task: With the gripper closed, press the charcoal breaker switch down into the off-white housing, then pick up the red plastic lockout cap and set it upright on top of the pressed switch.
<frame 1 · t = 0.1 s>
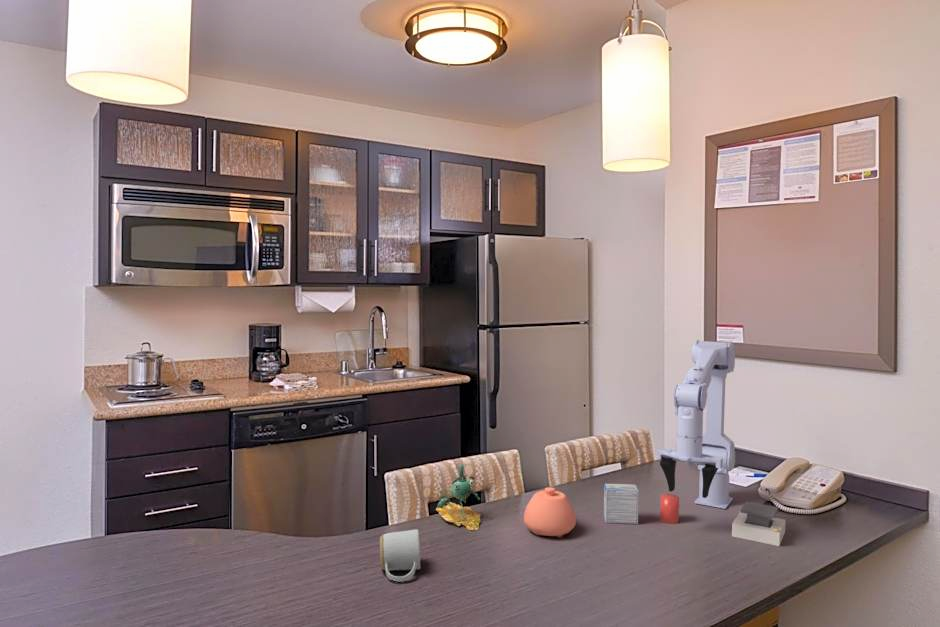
hand: (688, 493, 147), 10 cm above the counter, fingers open, 7 cm apart
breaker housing: (758, 534, 149), on the counter
lockout cap: (669, 520, 158), on the counter
sugar bowl: (549, 530, 151), on the counter
breaker switch: (759, 516, 149), point 4 cm above the counter, slide at 0.0 cm
ceramic mug: (401, 572, 129), on the counter
frog figurine: (459, 519, 159), on the counter
medicine box: (620, 521, 157), on the counter
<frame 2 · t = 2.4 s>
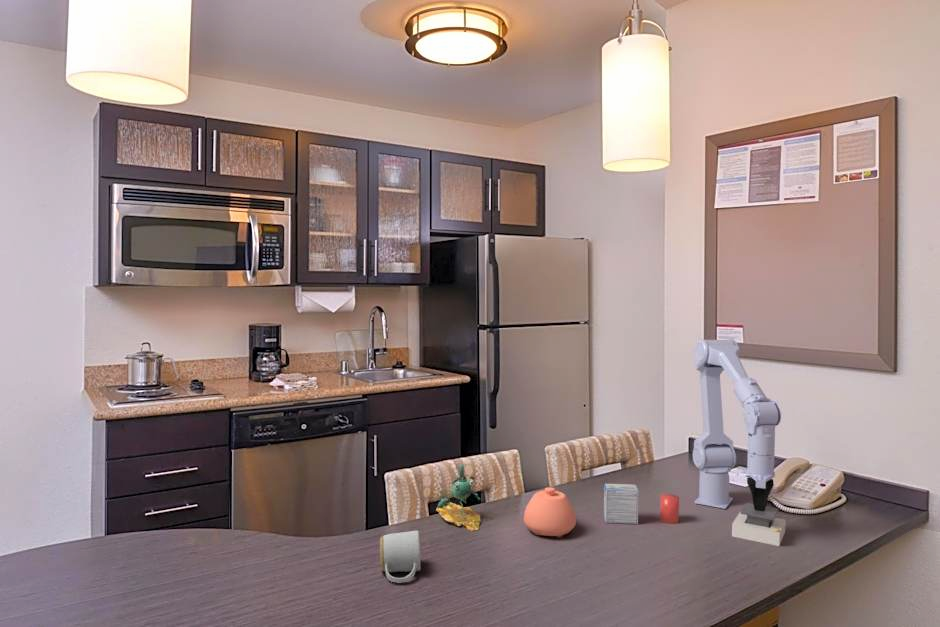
hand: (759, 510, 149), 6 cm above the counter, fingers closed, pressing on breaker switch
breaker switch: (759, 517, 149), point 4 cm above the counter, slide at 0.3 cm, touching gripper
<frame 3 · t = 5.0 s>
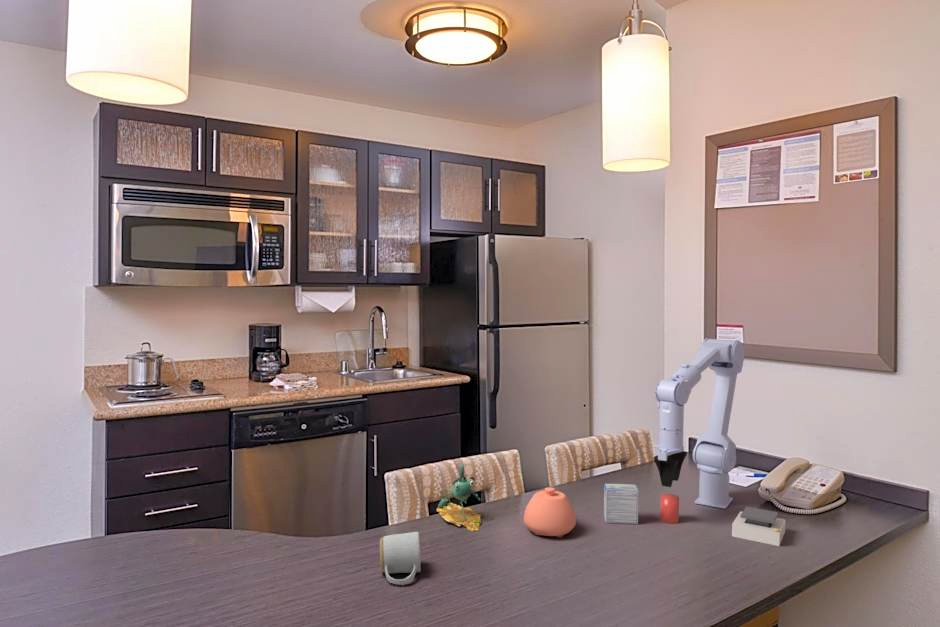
hand: (670, 483, 157), 9 cm above the counter, fingers open, 5 cm apart
breaker switch: (759, 521, 149), point 3 cm above the counter, slide at 1.2 cm
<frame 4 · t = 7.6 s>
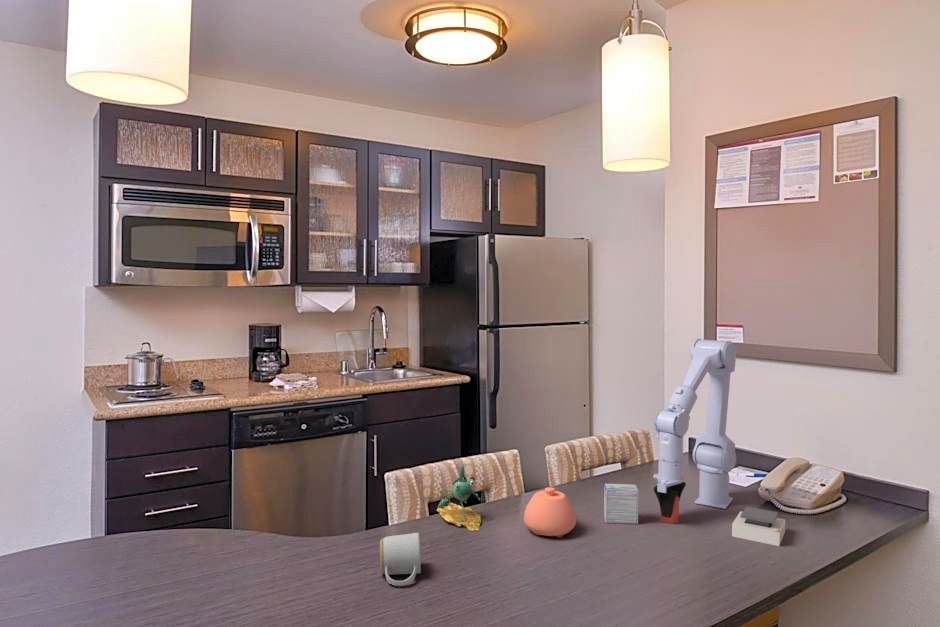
hand: (669, 513, 158), 2 cm above the counter, fingers closed on lockout cap, 4 cm apart
lockout cap: (669, 520, 158), on the counter, touching gripper
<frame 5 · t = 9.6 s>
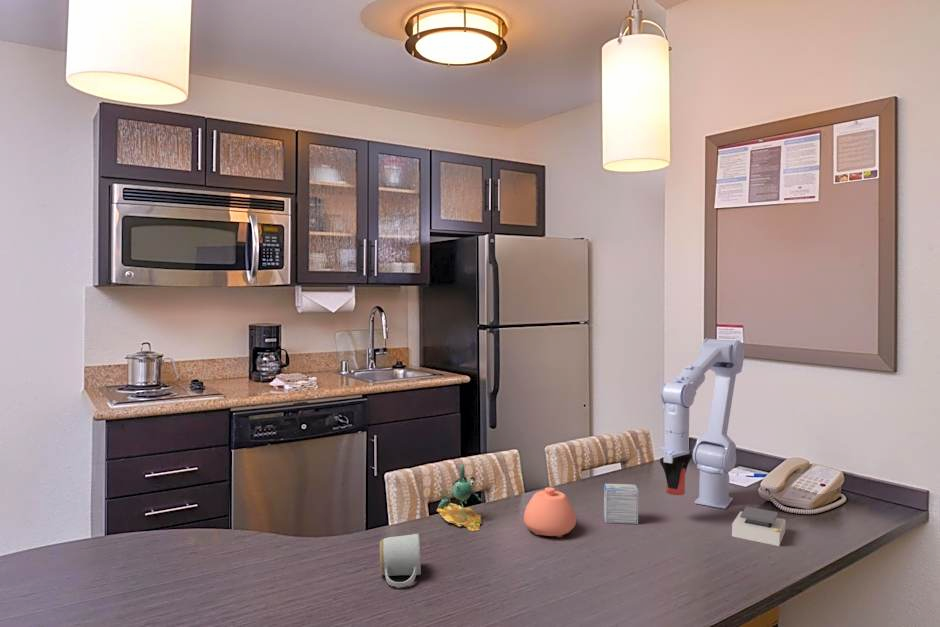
hand: (675, 485, 157), 9 cm above the counter, fingers closed on lockout cap, 4 cm apart
lockout cap: (675, 492, 157), point 7 cm above the counter, touching gripper
when the fingers open (8 cm above the counter, at t = 12.1 s): lockout cap drops 1 cm, resting on breaker switch.
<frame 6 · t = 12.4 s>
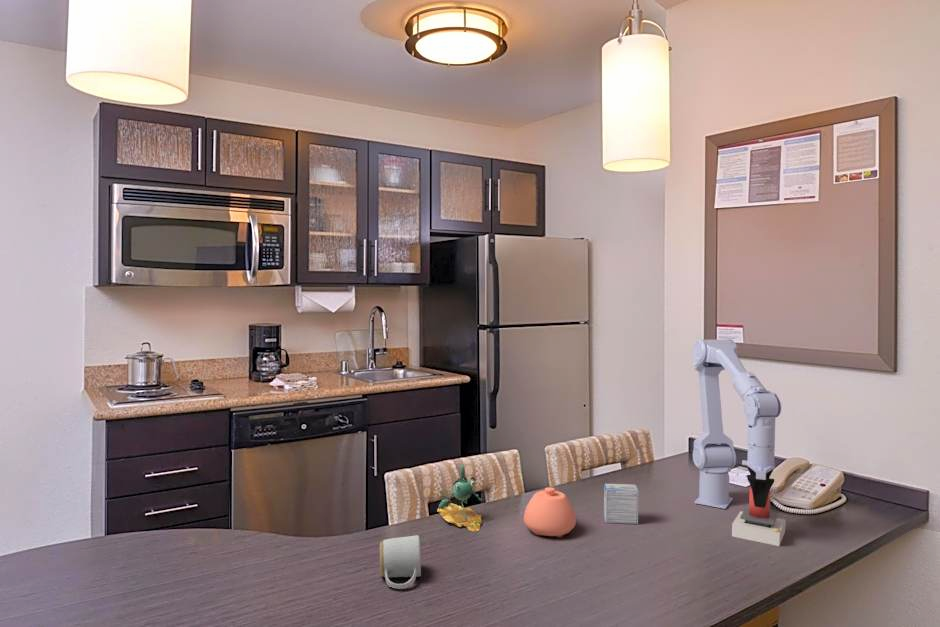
hand: (759, 501, 149), 8 cm above the counter, fingers open, 7 cm apart
lockout cap: (759, 514, 149), point 5 cm above the counter, touching breaker switch
breaker switch: (759, 522, 149), point 3 cm above the counter, slide at 1.5 cm, touching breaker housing, lockout cap
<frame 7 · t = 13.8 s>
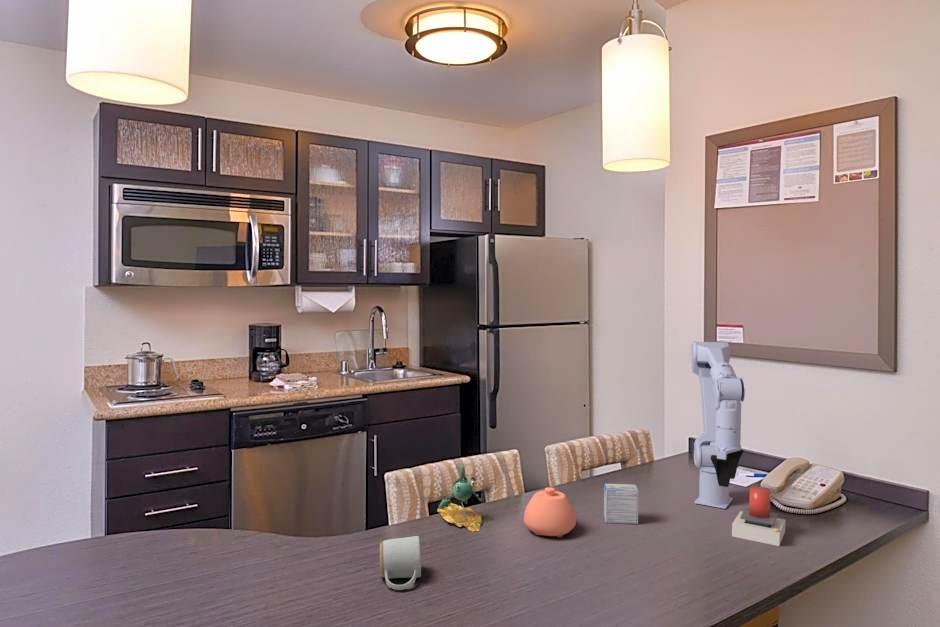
hand: (726, 482, 155), 10 cm above the counter, fingers open, 7 cm apart
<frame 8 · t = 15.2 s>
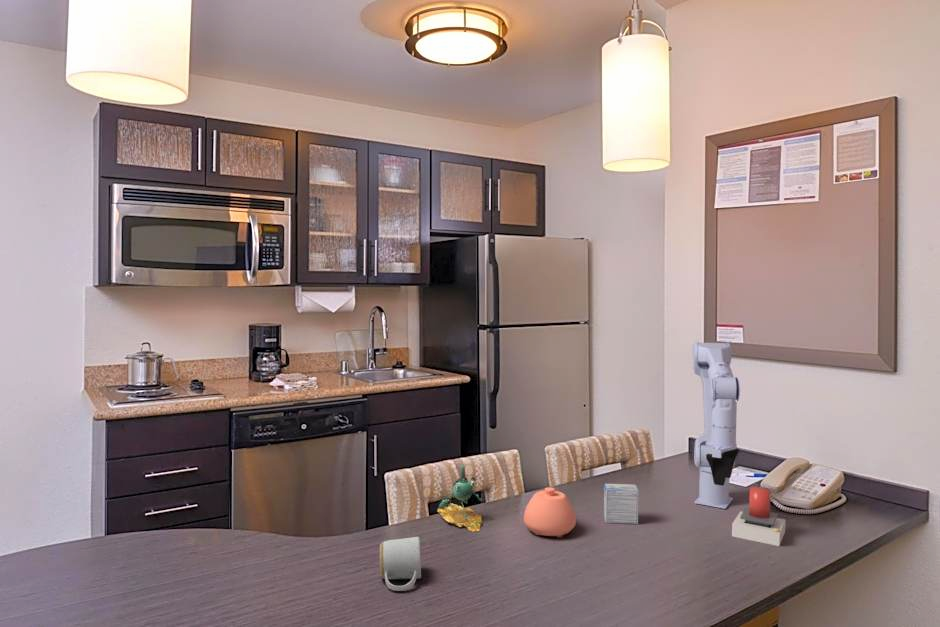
hand: (722, 480, 156), 10 cm above the counter, fingers open, 7 cm apart
at the end: breaker switch slide at 1.5 cm; lockout cap 0.0 cm off-centre on the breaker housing, point 4.6 cm above the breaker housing's base; lockout cap tilted 0° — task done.
